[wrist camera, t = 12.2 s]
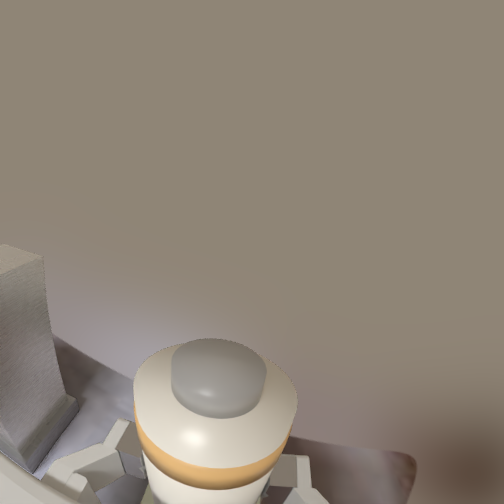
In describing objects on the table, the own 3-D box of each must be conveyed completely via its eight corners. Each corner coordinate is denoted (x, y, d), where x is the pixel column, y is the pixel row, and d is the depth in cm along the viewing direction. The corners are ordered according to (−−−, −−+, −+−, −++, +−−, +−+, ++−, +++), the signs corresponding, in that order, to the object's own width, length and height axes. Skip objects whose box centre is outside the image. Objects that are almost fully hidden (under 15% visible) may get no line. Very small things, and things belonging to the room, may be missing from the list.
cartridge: (147, 535, 7) (96, 395, 5) (168, 474, 12) (164, 309, 9) (241, 555, 7) (316, 443, 5) (249, 490, 12) (301, 334, 9)
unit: (-18, 434, 11) (-81, 273, 7) (31, 384, 20) (3, 241, 16) (32, 474, 11) (-47, 304, 7) (79, 409, 20) (54, 256, 16)
